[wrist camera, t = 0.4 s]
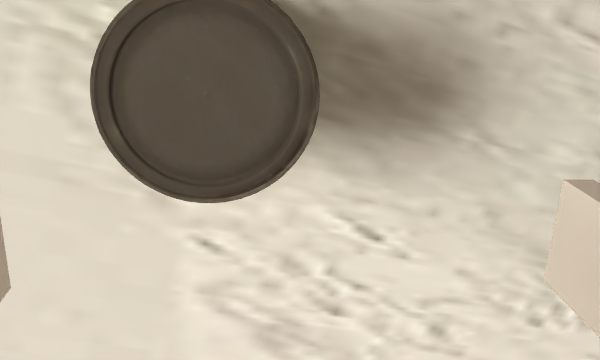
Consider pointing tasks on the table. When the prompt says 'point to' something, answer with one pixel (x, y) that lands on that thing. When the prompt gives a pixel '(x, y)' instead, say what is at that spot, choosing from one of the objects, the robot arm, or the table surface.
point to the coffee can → (204, 95)
